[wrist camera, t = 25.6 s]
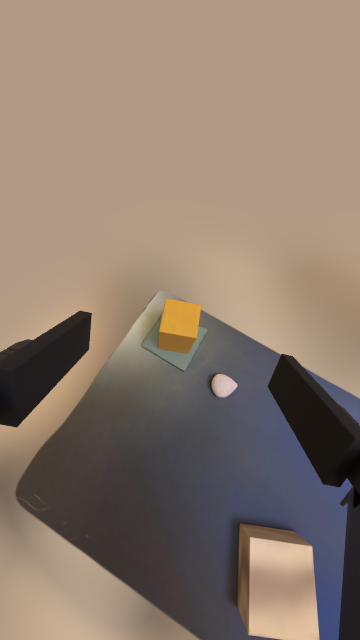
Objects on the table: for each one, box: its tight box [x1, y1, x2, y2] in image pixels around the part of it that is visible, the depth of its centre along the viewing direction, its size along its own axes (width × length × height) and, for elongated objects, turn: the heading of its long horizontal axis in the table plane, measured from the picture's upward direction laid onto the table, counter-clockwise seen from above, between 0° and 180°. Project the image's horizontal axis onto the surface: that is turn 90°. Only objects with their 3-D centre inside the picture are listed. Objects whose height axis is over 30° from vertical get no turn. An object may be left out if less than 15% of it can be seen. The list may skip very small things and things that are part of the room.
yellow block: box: [158, 299, 201, 354], centre depth 38 cm, size 6×6×10 cm
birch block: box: [237, 523, 319, 640], centre depth 29 cm, size 9×9×4 cm
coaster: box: [141, 314, 207, 372], centre depth 43 cm, size 10×10×1 cm
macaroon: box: [211, 374, 237, 398], centre depth 40 cm, size 4×5×2 cm
